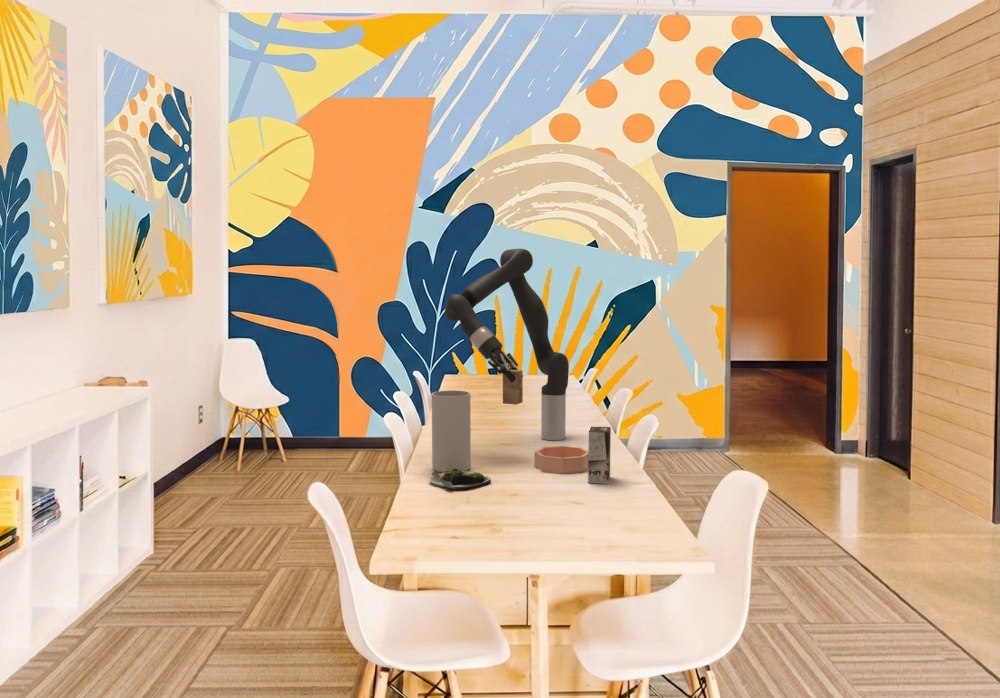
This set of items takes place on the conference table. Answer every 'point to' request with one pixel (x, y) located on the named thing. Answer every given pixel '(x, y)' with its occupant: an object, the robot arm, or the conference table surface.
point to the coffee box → (599, 455)
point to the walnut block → (513, 388)
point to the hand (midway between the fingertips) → (517, 379)
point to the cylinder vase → (451, 430)
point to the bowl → (561, 459)
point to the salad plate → (459, 480)
